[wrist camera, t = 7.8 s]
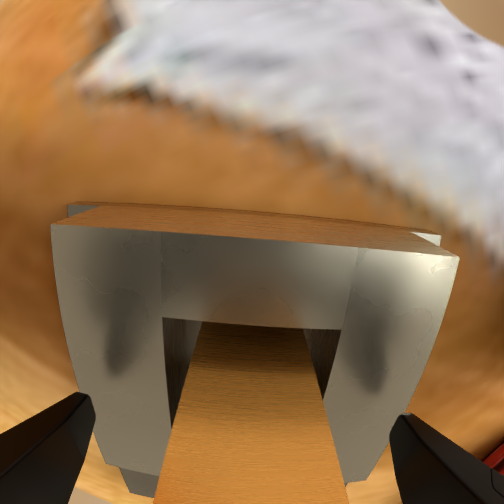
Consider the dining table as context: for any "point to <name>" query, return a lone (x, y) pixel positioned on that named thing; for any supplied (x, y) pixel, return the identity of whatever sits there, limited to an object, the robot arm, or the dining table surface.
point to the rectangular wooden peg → (250, 424)
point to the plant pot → (496, 459)
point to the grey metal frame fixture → (243, 315)
